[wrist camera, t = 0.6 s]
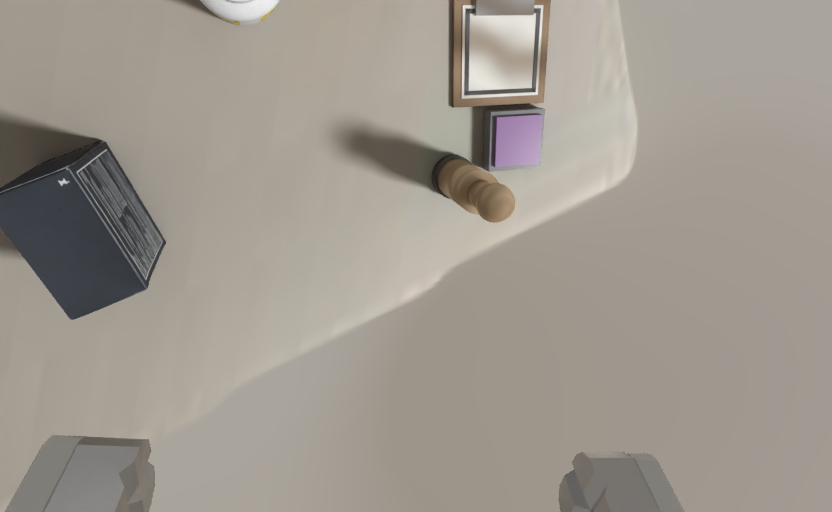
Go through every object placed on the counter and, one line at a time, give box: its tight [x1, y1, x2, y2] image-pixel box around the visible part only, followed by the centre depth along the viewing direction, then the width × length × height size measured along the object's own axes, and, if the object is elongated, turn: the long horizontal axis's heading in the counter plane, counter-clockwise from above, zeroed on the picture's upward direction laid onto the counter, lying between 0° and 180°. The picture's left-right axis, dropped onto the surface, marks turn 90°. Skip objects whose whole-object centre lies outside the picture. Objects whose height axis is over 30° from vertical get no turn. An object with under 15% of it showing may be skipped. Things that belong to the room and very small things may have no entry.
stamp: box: [432, 155, 515, 222], centre depth 50 cm, size 4×4×12 cm
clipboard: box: [452, 0, 551, 107], centre depth 52 cm, size 10×10×1 cm
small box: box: [0, 140, 166, 320], centre depth 43 cm, size 11×6×10 cm, turn 20°
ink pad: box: [483, 107, 545, 172], centre depth 55 cm, size 6×6×2 cm
